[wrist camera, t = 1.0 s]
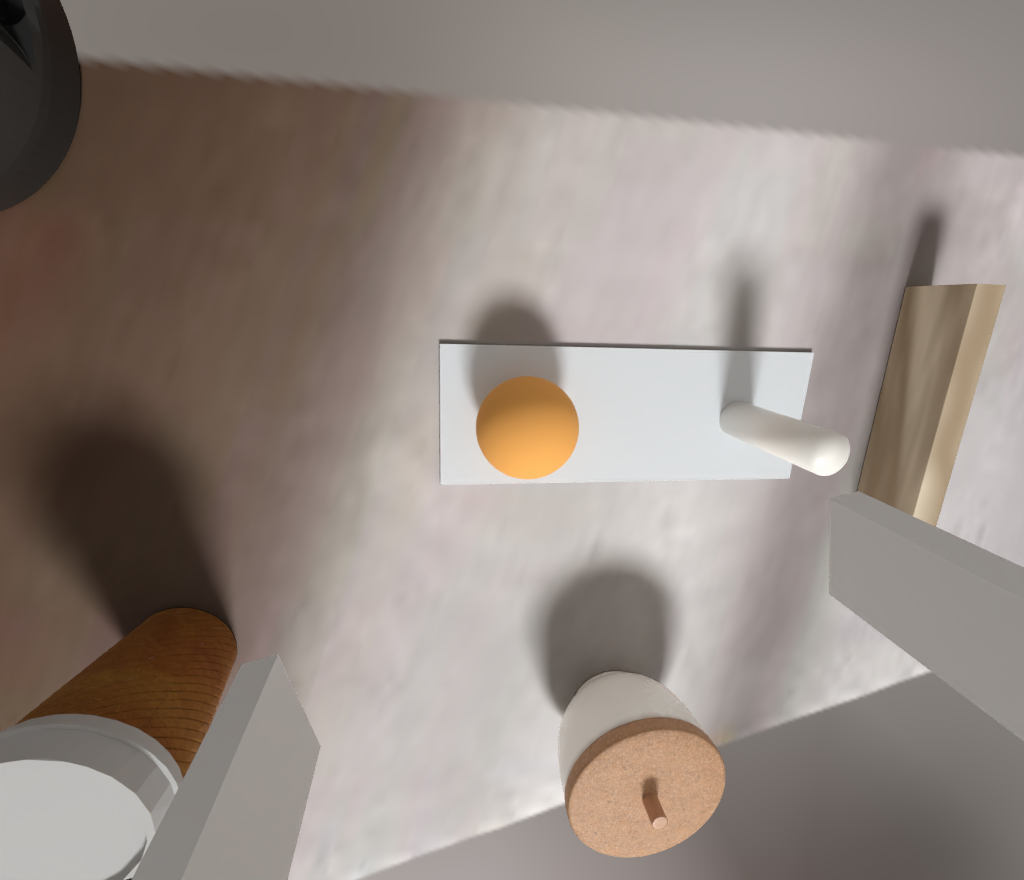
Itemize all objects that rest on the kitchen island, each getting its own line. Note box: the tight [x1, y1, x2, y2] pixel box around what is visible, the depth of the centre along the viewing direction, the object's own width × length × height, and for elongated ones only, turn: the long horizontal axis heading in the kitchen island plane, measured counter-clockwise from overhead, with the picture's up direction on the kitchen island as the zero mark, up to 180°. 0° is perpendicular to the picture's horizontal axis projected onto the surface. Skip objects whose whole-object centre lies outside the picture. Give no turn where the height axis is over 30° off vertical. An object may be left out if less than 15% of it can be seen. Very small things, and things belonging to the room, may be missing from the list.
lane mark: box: [440, 344, 814, 485], centre depth 32 cm, size 25×9×1 cm, turn 88°
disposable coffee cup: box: [0, 608, 237, 880], centre depth 26 cm, size 10×10×12 cm
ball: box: [476, 376, 579, 479], centre depth 28 cm, size 6×6×6 cm
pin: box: [719, 401, 850, 476], centre depth 29 cm, size 2×2×8 cm
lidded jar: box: [558, 671, 725, 857], centre depth 34 cm, size 11×11×9 cm
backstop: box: [857, 284, 1006, 527], centre depth 33 cm, size 2×18×4 cm, turn 178°
